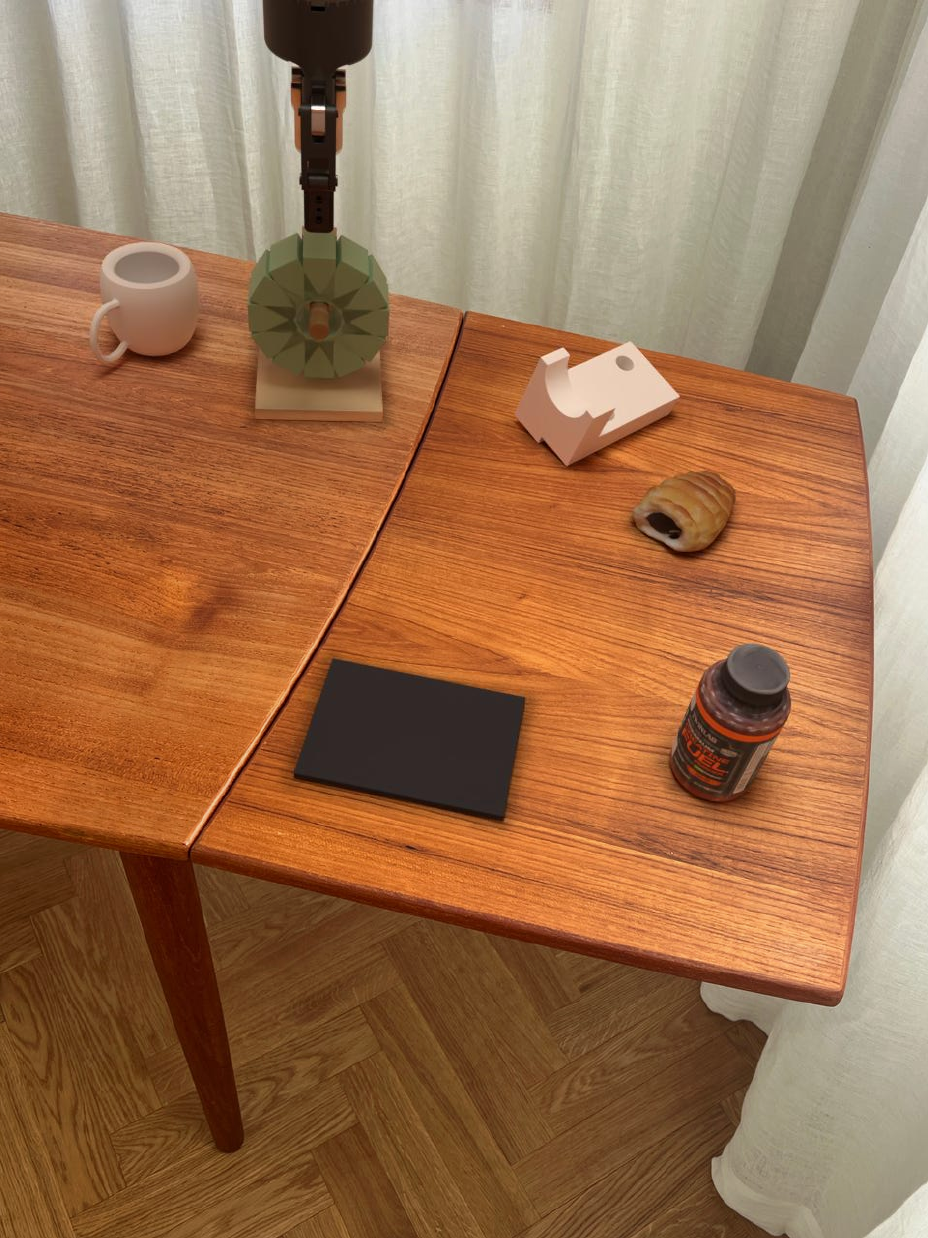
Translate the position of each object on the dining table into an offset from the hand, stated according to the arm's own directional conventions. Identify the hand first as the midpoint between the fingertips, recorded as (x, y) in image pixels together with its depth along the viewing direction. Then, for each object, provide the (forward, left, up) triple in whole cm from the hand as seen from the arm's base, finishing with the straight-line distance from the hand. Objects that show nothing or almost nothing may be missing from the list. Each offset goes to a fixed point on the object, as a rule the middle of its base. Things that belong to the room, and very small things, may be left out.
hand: (319, 201), depth 87 cm
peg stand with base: (+1, +1, -18) cm, 18 cm away
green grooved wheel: (0, 0, -10) cm, 10 cm away
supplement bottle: (-5, -49, -18) cm, 52 cm away
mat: (-19, -34, -18) cm, 43 cm away
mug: (-9, +14, -18) cm, 25 cm away
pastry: (+13, -32, -18) cm, 39 cm away
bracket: (+17, -19, -18) cm, 31 cm away
